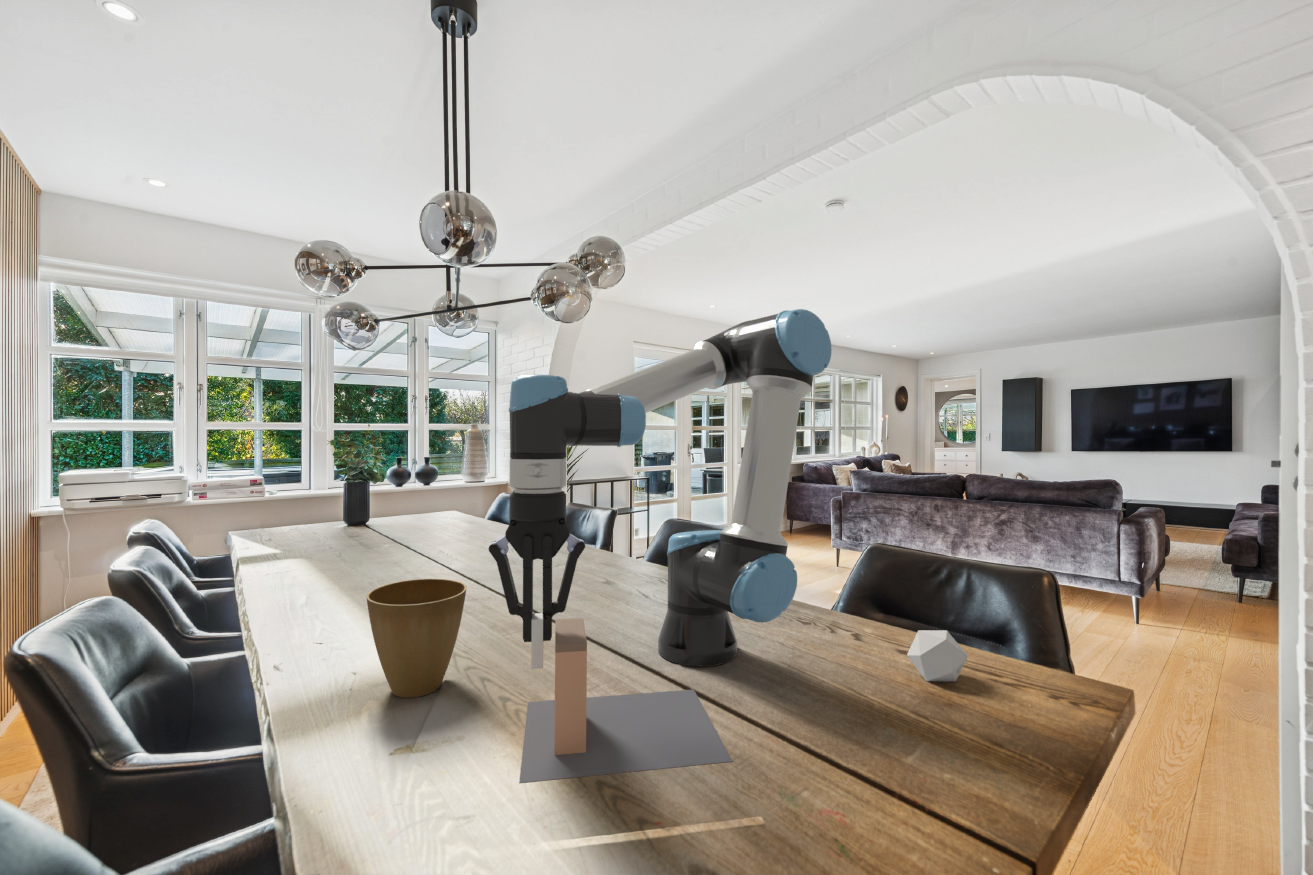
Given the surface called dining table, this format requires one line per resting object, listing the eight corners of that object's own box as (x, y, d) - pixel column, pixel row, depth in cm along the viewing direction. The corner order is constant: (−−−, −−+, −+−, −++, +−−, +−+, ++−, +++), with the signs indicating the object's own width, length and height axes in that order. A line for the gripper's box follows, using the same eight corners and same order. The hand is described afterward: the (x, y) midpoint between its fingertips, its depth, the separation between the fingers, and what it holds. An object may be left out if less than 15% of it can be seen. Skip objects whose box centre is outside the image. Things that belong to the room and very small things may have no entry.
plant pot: (343, 700, 85) (344, 597, 85) (415, 663, 99) (416, 574, 99) (419, 717, 80) (420, 607, 80) (484, 676, 94) (485, 582, 94)
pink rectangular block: (554, 715, 80) (555, 619, 80) (582, 713, 80) (583, 617, 80) (554, 755, 70) (555, 644, 70) (586, 752, 71) (586, 642, 71)
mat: (528, 705, 84) (528, 701, 84) (693, 693, 89) (693, 689, 89) (519, 787, 64) (519, 782, 64) (732, 765, 69) (732, 761, 69)
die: (963, 697, 89) (983, 643, 92) (913, 667, 91) (935, 615, 94) (938, 694, 97) (957, 644, 100) (892, 666, 98) (913, 618, 101)
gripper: (484, 493, 70) (483, 679, 70) (588, 492, 72) (587, 672, 72) (491, 488, 77) (490, 656, 77) (585, 487, 79) (584, 650, 79)
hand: (537, 664), depth 75 cm, fingers closed
